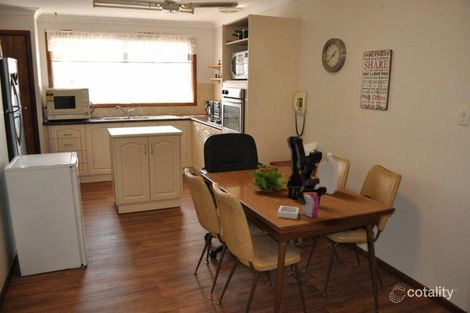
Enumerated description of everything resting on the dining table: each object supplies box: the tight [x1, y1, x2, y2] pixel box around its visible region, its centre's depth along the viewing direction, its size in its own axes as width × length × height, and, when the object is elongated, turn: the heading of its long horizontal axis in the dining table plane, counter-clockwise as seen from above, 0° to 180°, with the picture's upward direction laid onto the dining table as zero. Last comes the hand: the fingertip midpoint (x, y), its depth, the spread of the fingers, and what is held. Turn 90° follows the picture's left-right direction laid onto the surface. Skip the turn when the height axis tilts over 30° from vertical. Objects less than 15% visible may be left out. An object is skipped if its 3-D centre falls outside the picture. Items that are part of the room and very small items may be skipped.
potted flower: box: [249, 163, 287, 193], centre depth 245 cm, size 25×24×18 cm
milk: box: [315, 152, 339, 195], centre depth 248 cm, size 12×12×26 cm
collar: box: [277, 205, 300, 220], centre depth 202 cm, size 10×10×3 cm
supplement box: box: [302, 193, 319, 219], centre depth 201 cm, size 6×6×12 cm
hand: (311, 204), depth 199 cm, fingers closed on supplement box, 7 cm apart
